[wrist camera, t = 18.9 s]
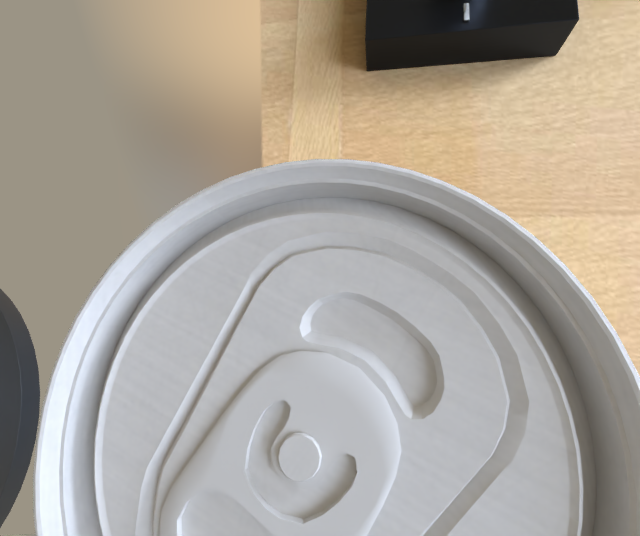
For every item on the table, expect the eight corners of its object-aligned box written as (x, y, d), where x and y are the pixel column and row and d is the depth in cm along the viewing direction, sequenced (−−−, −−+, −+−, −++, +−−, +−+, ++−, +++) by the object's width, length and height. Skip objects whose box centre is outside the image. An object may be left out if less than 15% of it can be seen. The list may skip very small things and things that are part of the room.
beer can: (448, 335, 17) (928, 370, 2) (381, 437, 16) (424, 1283, 2) (349, 270, 18) (243, 30, 4) (285, 362, 18) (-114, 505, 3)
